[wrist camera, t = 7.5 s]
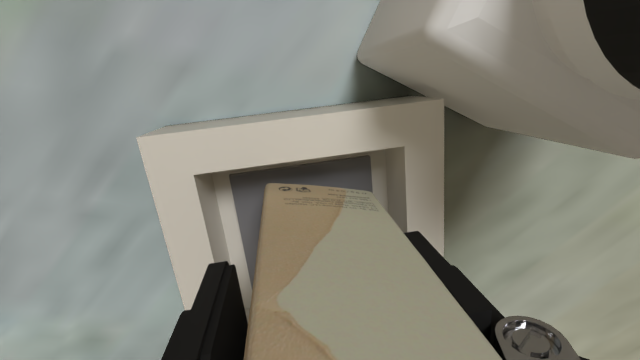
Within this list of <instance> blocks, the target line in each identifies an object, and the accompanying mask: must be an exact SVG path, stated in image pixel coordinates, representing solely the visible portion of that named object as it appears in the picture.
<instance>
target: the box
mask: <svg viewBox="0 0 640 360" xmlns="http://www.w3.org/2000/svg"><path fill="white" fill-rule="evenodd" d="M244 360H502V358H501V357H500V356H499V355H498V353H497V352H496V351H495V349H494V348H493V347H492V345H491V344H490V343H489V342H488V340H487V339H486V338H485V337H484V335H483V334H482V333H481V332H480V330H479V329H478V328H477V326H476V325H475V324H474V322H473V321H472V320H471V318H470V317H469V316H468V315H467V313H466V312H465V311H464V310H463V308H462V307H461V306H460V305H459V303H458V302H457V301H456V300H455V298H454V297H453V296H452V294H451V293H450V292H449V291H448V289H447V288H446V287H445V285H444V284H443V283H442V281H441V280H440V279H439V278H438V276H437V275H436V274H435V272H434V271H433V270H432V269H431V267H430V266H429V265H428V263H427V262H426V261H425V259H424V258H423V257H422V256H421V255H420V253H419V252H418V251H417V250H416V248H415V247H414V246H413V244H412V243H411V242H410V241H409V239H408V238H407V237H406V236H405V234H404V233H403V232H402V230H401V229H400V228H399V226H398V225H397V224H396V223H395V221H394V220H393V219H392V217H391V216H390V215H389V213H388V212H387V211H386V210H385V208H384V207H383V206H382V205H381V203H380V202H379V201H378V200H377V198H376V197H375V196H374V194H373V193H372V192H369V191H364V190H355V189H347V188H338V187H327V186H315V185H298V184H282V183H268V184H267V185H266V186H265V189H264V198H263V207H262V216H261V224H260V232H259V240H258V248H257V256H256V265H255V273H254V281H253V289H252V297H251V305H250V313H249V321H248V329H247V337H246V344H245V352H244Z"/></svg>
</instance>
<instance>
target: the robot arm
mask: <svg viewBox="0 0 640 360" xmlns="http://www.w3.org/2000/svg"><path fill="white" fill-rule="evenodd" d="M404 234H405V236H406V237H407V238H408V239H409V241H410V242H411V243H412V244H413V246H414V247H415V248H416V250H417V251H418V252H419V253H420V255H421V256H422V257H423V258H424V259H425V261H426V262H427V263H428V265H429V266H430V267H431V269H432V270H433V271H434V272H435V274H436V275H437V276H438V278H439V279H440V280H441V281H442V283H443V284H444V285H445V287H446V288H447V289H448V291H449V292H450V293H451V294H452V296H453V297H454V298H455V300H456V301H457V302H458V303H459V305H460V306H461V307H462V308H463V310H464V311H465V312H466V313H467V315H468V316H469V317H470V318H471V320H472V321H473V322H474V324H475V325H476V326H477V328H478V329H479V330H480V332H481V333H482V334H483V335H484V337H485V338H486V339H487V340H488V342H489V343H490V344H491V345H492V347H493V348H494V349H495V351H496V352H497V353H498V355H499V356H500V357H501V358H502V360H589V359H586V358H583V357H580V356H578V355H577V353H576V352H575V351H574V349H573V348H572V346H571V345H570V343H569V342H568V340H567V339H566V338H565V337H564V336H563V335H562V334H561V333H560V332H559V331H558V330H556V329H555V328H554V327H552V326H551V325H549V324H547V323H545V322H542V321H540V320H537V319H534V318H530V317H524V316H509V317H506V318H505V317H504V316H503V315H502V314H501V313H500V312H499V311H498V310H497V309H496V308H495V307H494V306H493V305H492V304H491V303H490V302H489V301H488V300H487V299H486V298H485V297H484V295H483V294H482V293H481V292H480V291H479V290H478V289H477V288H476V287H475V286H474V285H473V284H472V283H471V282H470V281H469V280H468V279H467V278H466V277H465V276H464V274H463V273H462V272H461V271H460V270H459V269H458V268H456V267H455V266H452V265H450V264H449V263H448V262H447V261H446V260H445V259H444V258H443V256H442V255H441V254H440V253H439V252H438V251H437V250H436V249H435V248H434V247H433V246H432V245H431V244H430V243H429V241H428V240H427V239H426V238H425V237H424V236H423V235H422V234H421V233H420V232H419V231H413V232H406V233H404ZM247 329H248V322H247V318H246V313H245V308H244V304H243V299H242V294H241V290H240V285H239V281H238V276H237V271H236V267H235V265H234V264H233V265H229V263H228V261H223V262H217V263H211V264H209V265H208V267H207V269H206V272H205V274H204V277H203V280H202V282H201V285H200V287H199V290H198V292H197V295H196V297H195V300H194V303H193V305H192V308H191V310H185V311H183V312H182V313H181V315H180V317H179V319H178V322H177V324H176V326H175V329H174V331H173V333H172V336H171V338H170V340H169V343H168V345H167V347H166V350H165V352H164V354H163V357H162V359H161V360H244V352H245V344H246V337H247Z"/></svg>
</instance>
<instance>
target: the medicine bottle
mask: <svg viewBox="0 0 640 360" xmlns="http://www.w3.org/2000/svg"><path fill="white" fill-rule="evenodd" d="M357 57H358V60H359V61H360V62H361V63H362V64H364V65H366V66H367V67H369V68H371V69H373V70H375V71H377V72H379V73H381V74H383V75H385V76H387V77H389V78H391V79H393V80H395V81H397V82H399V83H401V84H403V85H405V86H407V87H409V88H411V89H413V90H415V91H417V92H419V93H421V94H423V95H424V96H426V97H431V98H441V99H444V106H446V107H448V108H450V109H452V110H454V111H456V112H458V113H460V114H462V115H464V116H466V117H468V118H470V119H472V120H474V121H476V122H478V123H480V124H481V125H483V126H485V127H490V128H495V129H499V130H504V131H508V132H513V133H518V134H522V135H527V136H531V137H536V138H541V139H545V140H550V141H555V142H559V143H564V144H568V145H573V146H578V147H582V148H587V149H591V150H596V151H601V152H605V153H610V154H615V155H619V156H624V157H628V158H634V159H636V158H640V0H381V1H380V3H379V5H378V7H377V10H376V12H375V14H374V16H373V18H372V21H371V23H370V25H369V27H368V30H367V32H366V34H365V36H364V38H363V41H362V43H361V45H360V47H359V50H358V53H357Z"/></svg>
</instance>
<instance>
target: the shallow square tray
mask: <svg viewBox="0 0 640 360" xmlns="http://www.w3.org/2000/svg"><path fill="white" fill-rule="evenodd" d="M136 138H137V142H138V145H139V149H140V152H141V156H142V159H143V163H144V166H145V170H146V174H147V177H148V181H149V184H150V188H151V191H152V195H153V198H154V202H155V205H156V209H157V213H158V216H159V220H160V223H161V227H162V230H163V234H164V237H165V241H166V245H167V248H168V252H169V255H170V259H171V262H172V266H173V269H174V273H175V276H176V280H177V284H178V287H179V291H180V294H181V298H182V301H183V305H184V308H185V310H191V308H192V305H193V303H194V300H195V297H196V295H197V292H198V290H199V287H200V285H201V282H202V280H203V277H204V274H205V272H206V269H207V267H208V265H209V264H211V263H217V262H223V261H228V263H229V265H233V264H234V265H235V267H236V271H237V276H238V281H239V285H240V290H241V294H242V299H243V304H244V308H245V313H246V318H247V322H248V321H249V313H250V305H251V297H252V289H253V281H254V273H255V265H256V256H257V248H258V240H259V232H260V224H261V216H262V207H263V198H264V189H265V186H266V185H267V184H268V183H282V184H298V185H315V186H327V187H338V188H347V189H355V190H364V191H369V192H372V193H373V194H374V196H375V197H376V198H377V200H378V201H379V202H380V203H381V205H382V206H383V207H384V208H385V210H386V211H387V212H388V213H389V215H390V216H391V217H392V219H393V220H394V221H395V223H396V224H397V225H398V226H399V228H400V229H401V230H402V232H403V233H406V232H413V231H419V232H420V233H421V234H422V235H423V236H424V237H425V238H426V239H427V240H428V241H429V243H430V244H431V245H432V246H433V247H434V248H435V249H436V250H437V251H438V252H439V253H440V254H441V255H442V256H443V258H444V99H441V98H431V97H421V96H404V97H395V98H387V99H379V100H371V101H363V102H355V103H347V104H339V105H331V106H323V107H315V108H307V109H298V110H290V111H282V112H274V113H266V114H258V115H250V116H242V117H234V118H226V119H218V120H210V121H201V122H193V123H185V124H177V125H169V126H165V127H162V128H160V129H157V130H155V131H152V132H149V133H147V134H144V135H142V136H139V137H136Z"/></svg>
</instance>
